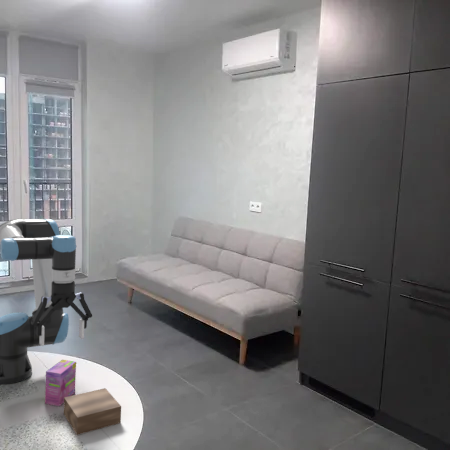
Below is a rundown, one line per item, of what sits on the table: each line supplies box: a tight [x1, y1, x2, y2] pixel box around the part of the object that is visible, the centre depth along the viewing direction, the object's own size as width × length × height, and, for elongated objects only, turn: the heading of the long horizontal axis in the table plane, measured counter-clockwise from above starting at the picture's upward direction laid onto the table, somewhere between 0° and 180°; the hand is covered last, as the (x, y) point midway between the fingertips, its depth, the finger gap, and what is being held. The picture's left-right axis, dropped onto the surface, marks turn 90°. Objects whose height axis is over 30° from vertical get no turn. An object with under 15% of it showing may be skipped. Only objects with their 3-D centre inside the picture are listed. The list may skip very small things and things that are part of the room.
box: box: [44, 359, 77, 407], centre depth 159 cm, size 10×6×12 cm, turn 168°
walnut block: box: [63, 387, 122, 436], centre depth 148 cm, size 14×14×6 cm
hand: (62, 341), depth 157 cm, fingers open, 13 cm apart
